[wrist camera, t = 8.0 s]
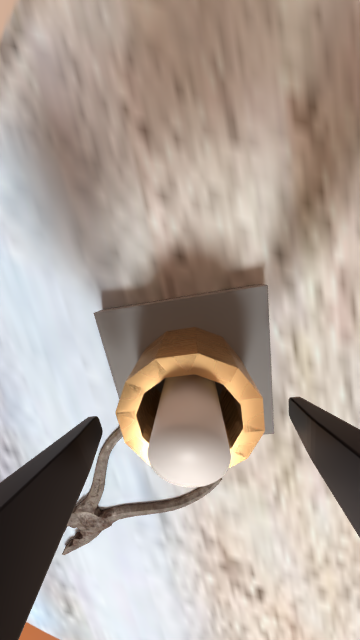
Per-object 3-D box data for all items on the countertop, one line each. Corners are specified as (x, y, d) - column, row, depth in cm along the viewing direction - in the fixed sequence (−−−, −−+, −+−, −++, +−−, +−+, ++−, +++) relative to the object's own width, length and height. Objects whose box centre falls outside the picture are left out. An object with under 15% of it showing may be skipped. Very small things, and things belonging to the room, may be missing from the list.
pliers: (237, 470, 14) (120, 581, 18) (234, 458, 14) (123, 568, 19) (129, 408, 13) (37, 542, 18) (133, 400, 14) (44, 530, 18)
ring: (235, 320, 10) (258, 345, 7) (245, 413, 11) (267, 470, 8) (129, 336, 11) (100, 366, 7) (151, 422, 12) (136, 478, 9)
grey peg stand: (260, 284, 10) (349, 298, 5) (267, 421, 13) (331, 544, 7) (101, 309, 11) (8, 347, 6) (136, 432, 14) (97, 547, 8)
